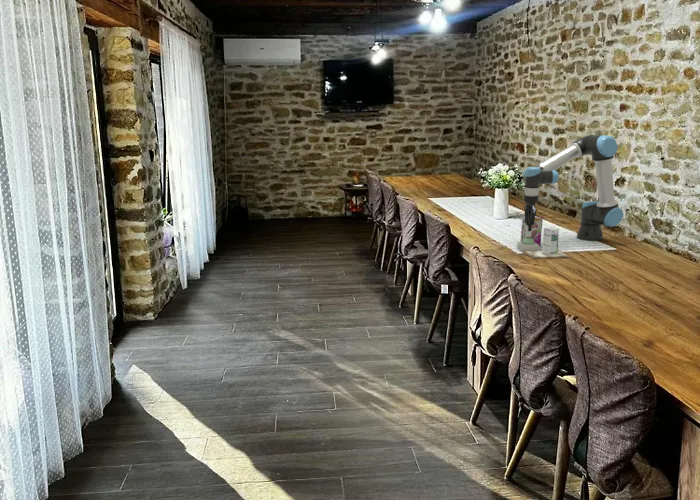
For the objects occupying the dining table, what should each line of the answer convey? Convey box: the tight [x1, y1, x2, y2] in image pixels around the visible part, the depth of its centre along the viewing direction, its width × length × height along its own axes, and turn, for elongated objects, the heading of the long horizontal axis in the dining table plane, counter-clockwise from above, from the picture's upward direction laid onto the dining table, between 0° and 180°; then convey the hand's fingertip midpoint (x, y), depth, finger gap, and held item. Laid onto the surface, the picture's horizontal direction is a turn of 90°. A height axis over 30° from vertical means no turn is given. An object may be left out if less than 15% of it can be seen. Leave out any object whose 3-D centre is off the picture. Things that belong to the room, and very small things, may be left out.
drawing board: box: [522, 249, 572, 260], centre depth 335 cm, size 21×15×1 cm
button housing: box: [516, 241, 540, 253], centre depth 347 cm, size 9×9×4 cm
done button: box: [523, 238, 534, 245], centre depth 346 cm, size 6×6×4 cm
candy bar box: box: [519, 216, 543, 246], centre depth 359 cm, size 11×5×16 cm, turn 84°
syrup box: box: [541, 226, 560, 255], centre depth 333 cm, size 6×6×14 cm
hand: (528, 236), depth 345 cm, fingers closed
